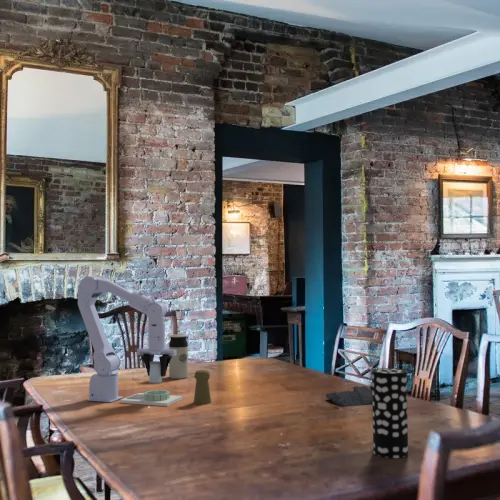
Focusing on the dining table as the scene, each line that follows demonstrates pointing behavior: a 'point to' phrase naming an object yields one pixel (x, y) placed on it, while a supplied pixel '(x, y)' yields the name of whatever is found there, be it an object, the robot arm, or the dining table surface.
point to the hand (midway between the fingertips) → (156, 375)
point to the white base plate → (152, 398)
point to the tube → (155, 372)
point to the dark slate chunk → (352, 397)
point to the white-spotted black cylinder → (390, 412)
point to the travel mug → (179, 357)
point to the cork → (202, 387)
